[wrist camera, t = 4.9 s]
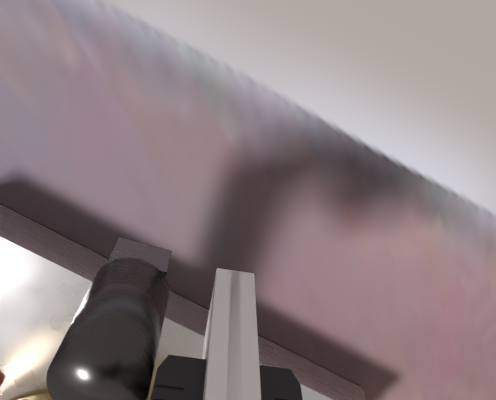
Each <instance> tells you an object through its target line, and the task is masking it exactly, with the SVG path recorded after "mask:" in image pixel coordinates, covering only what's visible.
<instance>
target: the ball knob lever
mask: <svg viewBox="0 0 496 400" xmlns="http://www.w3.org/2000/svg"><path fill="white" fill-rule="evenodd" d="M171 252H172V251H170V250H166V249H162V248H158V247H155V246H151V245H147V244H144V243H140V242H136V241H133V240H129V239H125V238H121V237H119V239H118V241H117V243H116V245H115V247H114V249H113V251H112V253H111V255H110V257H109V261H108V263H107V264H105V265H104V266H103V267H102V268H101V269H100V270H99V271H98V272H97V274H96V275H95V277H94V279H93V281H92V283H91V285H90V287H89V289H88V291H87V293H86V295H85V297H84V299H83V301H82V303H81V305H80V307H79V309H78V311H77V313H76V315H75V317H74V319H73V321H72V323H71V325H70V327H69V329H68V331H67V333H66V335H65V336H64V338H63V340H62V342H61V344H60V346H59V348H58V350H57V352H56V354H55V356H54V358H53V360H52V362H51V364H50V366H49V368H48V371H47V376H46V384H47V389H48V391H49V393H46V394H39V395H33V396H29V397H25V398H21V399H18V400H146V399H147V397H148V394H149V390H150V385H151V380H152V375H153V370H154V366H155V361H156V356H157V351H158V346H159V342H160V337H161V332H162V327H163V322H164V317H165V313H166V308H167V303H168V298H169V287H168V283H167V281H166V279H165V276H166V273H167V269H168V265H169V261H170V256H171Z"/></svg>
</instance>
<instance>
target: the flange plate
mask: <svg viewBox="0 0 496 400" xmlns="http://www.w3.org/2000/svg"><path fill="white" fill-rule="evenodd" d="M108 261H109V259H107V258H105V257H103V256H101V255H99V254H97V253H95V252H93V251H91V250H89V249H88V248H86V247H84V246H82V245H80V244H78V243H76V242H74V241H72V240H70V239H68V238H66V237H64V236H62V235H60V234H58V233H56V232H54V231H52V230H50V229H48V228H46V227H44V226H42V225H40V224H38V223H36V222H34V221H32V220H30V219H28V218H26V217H24V216H22V215H20V214H18V213H16V212H15V211H13V210H11V209H9V208H7V207H5V206H3V205H1V204H0V400H18V399H21V398H25V397H29V396H33V395H39V394H46V393H49V391H48V389H47V384H46V376H47V371H48V368H49V366H50V364H51V362H52V360H53V358H54V356H55V354H56V352H57V350H58V348H59V346H60V344H61V342H62V340H63V338H64V336H65V335H66V333H67V331H68V329H69V327H70V325H71V323H72V321H73V319H74V317H75V315H76V313H77V311H78V309H79V307H80V305H81V303H82V301H83V299H84V297H85V295H86V293H87V291H88V289H89V287H90V285H91V283H92V281H93V279H94V277H95V275H96V274H97V272H98V271H99V270H100V269H101V268H102V267H103V266H104V265H105V264H107V263H108ZM208 315H209V310H208V309H206V308H204V307H202V306H200V305H198V304H196V303H194V302H192V301H190V300H188V299H186V298H184V297H182V296H180V295H178V294H176V293H174V292H172V291H170V290H169V298H168V303H167V308H166V313H165V317H164V322H163V327H162V332H161V337H160V342H159V346H158V351H157V356H156V361H155V366H154V370H153V375H152V380H151V385H150V390H149V394H148V397H147V399H146V400H150V399H151V394H152V390H153V386H154V381H155V377H156V372H157V368H158V367H159V366H160V364H161V363H162V362H163V361H164V360H165V358H166V357H167V356H168V355H176V356H184V357H191V358H199V359H202V357H203V348H204V339H205V332H206V327H207V321H208ZM258 351H259V365H264V366H271V367H279V368H287V369H291V371H292V372H293V374H294V375H295V377H296V379H297V380H298V382H299V383H300V385H301V392H302V398H303V400H367V399H366V397H365V394H364V391H363V388H362V387H360V386H358V385H356V384H354V383H352V382H350V381H348V380H346V379H344V378H342V377H340V376H338V375H336V374H334V373H332V372H330V371H328V370H326V369H324V368H322V367H320V366H318V365H316V364H314V363H312V362H310V361H308V360H306V359H305V358H303V357H301V356H299V355H297V354H295V353H293V352H291V351H289V350H287V349H285V348H283V347H281V346H279V345H277V344H275V343H273V342H271V341H269V340H267V339H265V338H263V337H261V336H259V335H258Z"/></svg>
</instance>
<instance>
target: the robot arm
mask: <svg viewBox="0 0 496 400" xmlns="http://www.w3.org/2000/svg"><path fill="white" fill-rule="evenodd" d="M150 400H303V398H302V392H301V385H300V383H299V382H298V380H297V379H296V377H295V375H294V374H293V372H292V371H291V369H287V368H279V367H271V366H264V365H259V351H258V333H257V315H256V297H255V280H254V273H248V272H241V271H234V270H227V269H220V268H217V270H216V275H215V281H214V287H213V292H212V298H211V304H210V309H209V315H208V321H207V327H206V332H205V339H204V348H203V357H202V359H199V358H191V357H184V356H176V355H168V356H167V357H166V358H165V360H164V361H163V362H162V363H161V364H160V366H159V367H158V368H157V372H156V377H155V381H154V386H153V390H152V394H151V399H150Z"/></svg>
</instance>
